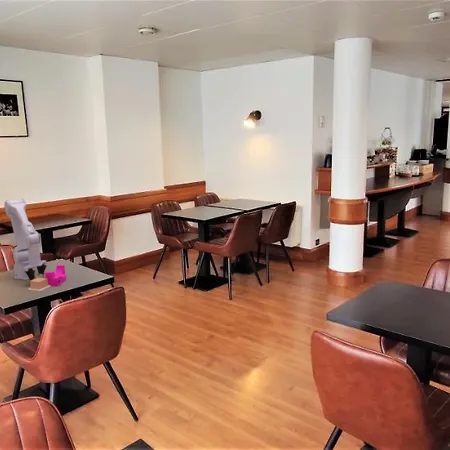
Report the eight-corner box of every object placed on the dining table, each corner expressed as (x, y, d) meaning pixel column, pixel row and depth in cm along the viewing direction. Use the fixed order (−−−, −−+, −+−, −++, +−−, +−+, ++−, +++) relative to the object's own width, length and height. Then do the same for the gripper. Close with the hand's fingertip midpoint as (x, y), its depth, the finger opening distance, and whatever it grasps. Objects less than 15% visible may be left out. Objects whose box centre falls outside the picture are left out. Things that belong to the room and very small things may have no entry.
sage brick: (30, 283, 245) (29, 275, 244) (36, 281, 249) (36, 273, 248) (37, 284, 243) (36, 276, 243) (43, 282, 248) (42, 274, 247)
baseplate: (27, 289, 235) (27, 288, 235) (39, 285, 242) (38, 284, 242) (40, 291, 232) (40, 290, 232) (51, 286, 239) (51, 285, 239)
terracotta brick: (30, 288, 235) (29, 280, 234) (39, 284, 241) (38, 277, 240) (39, 289, 233) (39, 282, 232) (48, 285, 239) (47, 278, 238)
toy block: (57, 286, 240) (56, 272, 238) (46, 286, 241) (44, 272, 239) (69, 277, 254) (68, 264, 253) (59, 277, 255) (58, 264, 254)
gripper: (30, 259, 235) (32, 285, 238) (49, 253, 249) (52, 276, 251) (19, 258, 238) (22, 283, 240) (39, 252, 251) (41, 275, 254)
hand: (36, 280), depth 246 cm, fingers open, 6 cm apart
